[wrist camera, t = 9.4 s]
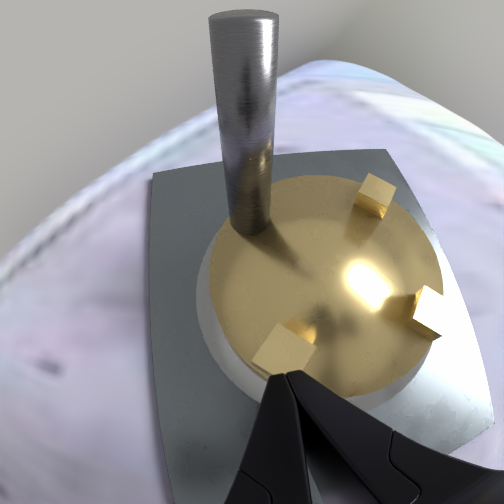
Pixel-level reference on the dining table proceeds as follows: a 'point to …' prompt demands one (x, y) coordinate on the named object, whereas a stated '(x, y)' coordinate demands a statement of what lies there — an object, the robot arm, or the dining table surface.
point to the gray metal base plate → (239, 375)
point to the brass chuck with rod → (310, 244)
